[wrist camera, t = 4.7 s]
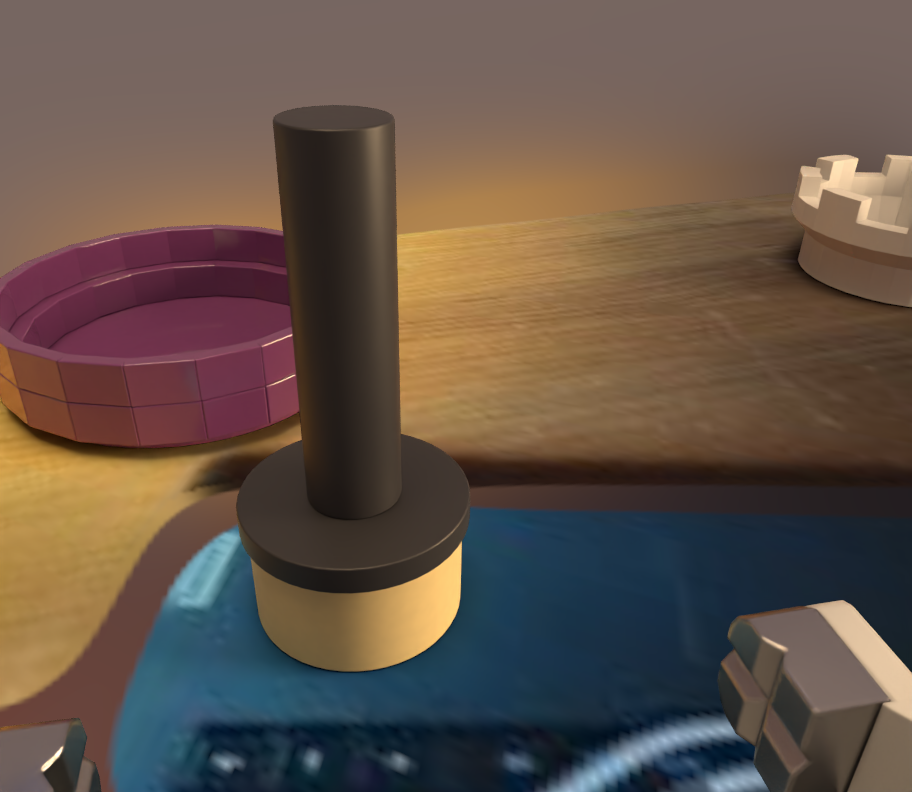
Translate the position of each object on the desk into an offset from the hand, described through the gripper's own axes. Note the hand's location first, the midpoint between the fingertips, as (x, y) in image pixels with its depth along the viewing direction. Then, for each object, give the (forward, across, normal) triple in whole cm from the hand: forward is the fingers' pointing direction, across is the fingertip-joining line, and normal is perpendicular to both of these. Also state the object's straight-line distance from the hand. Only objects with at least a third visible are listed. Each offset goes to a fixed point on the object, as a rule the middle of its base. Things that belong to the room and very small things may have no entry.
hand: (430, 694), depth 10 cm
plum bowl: (+28, +6, +9) cm, 30 cm away
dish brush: (+12, 0, +9) cm, 15 cm away
